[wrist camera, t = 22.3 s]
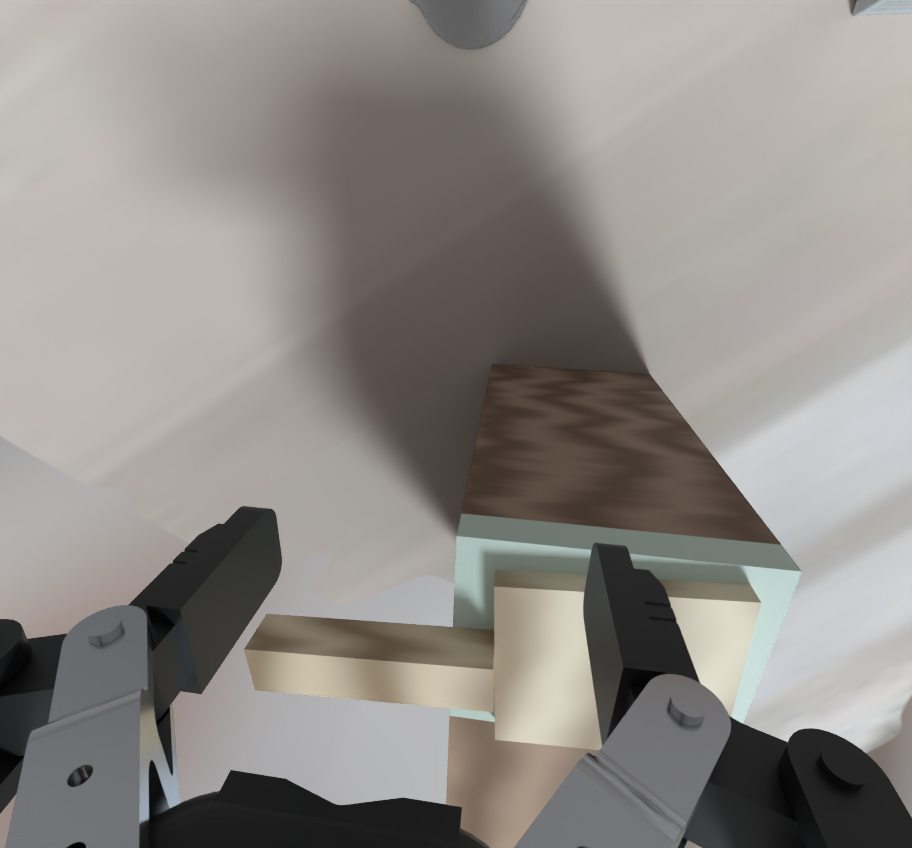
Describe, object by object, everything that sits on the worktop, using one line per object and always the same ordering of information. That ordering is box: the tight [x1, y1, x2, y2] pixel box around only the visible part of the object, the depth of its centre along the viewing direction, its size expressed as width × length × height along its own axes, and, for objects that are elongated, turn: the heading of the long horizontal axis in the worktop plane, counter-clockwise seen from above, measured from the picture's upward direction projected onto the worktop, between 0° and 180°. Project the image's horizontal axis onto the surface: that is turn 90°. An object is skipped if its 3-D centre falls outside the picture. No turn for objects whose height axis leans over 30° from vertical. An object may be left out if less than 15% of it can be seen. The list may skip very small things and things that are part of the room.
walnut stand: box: [446, 364, 802, 848], centre depth 42 cm, size 16×26×30 cm, turn 178°
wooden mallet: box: [244, 570, 761, 750], centre depth 26 cm, size 25×11×2 cm, turn 92°
